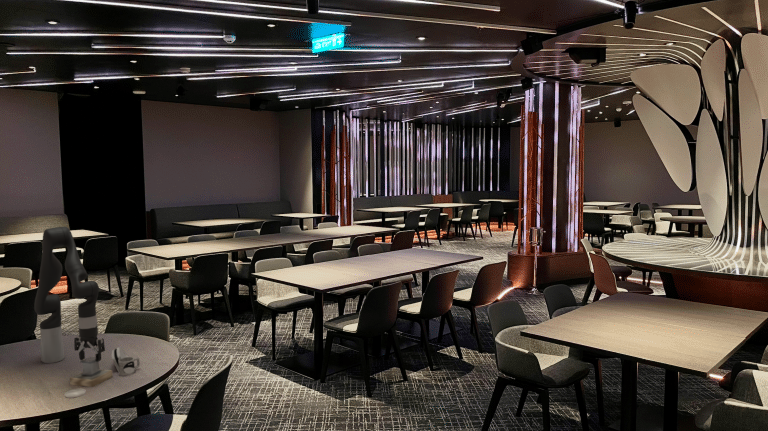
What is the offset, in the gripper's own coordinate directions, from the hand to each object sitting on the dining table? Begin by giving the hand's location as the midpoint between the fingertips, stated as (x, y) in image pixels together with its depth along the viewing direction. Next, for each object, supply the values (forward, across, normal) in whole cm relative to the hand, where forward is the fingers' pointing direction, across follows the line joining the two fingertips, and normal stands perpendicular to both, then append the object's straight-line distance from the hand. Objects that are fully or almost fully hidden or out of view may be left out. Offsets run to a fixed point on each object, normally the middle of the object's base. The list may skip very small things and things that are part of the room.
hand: (90, 360), depth 255 cm
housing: (+6, 0, 0) cm, 6 cm away
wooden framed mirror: (+9, 0, 0) cm, 9 cm away
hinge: (+10, +1, +19) cm, 21 cm away
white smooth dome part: (+10, +4, -14) cm, 18 cm away
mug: (+10, +10, +13) cm, 19 cm away
